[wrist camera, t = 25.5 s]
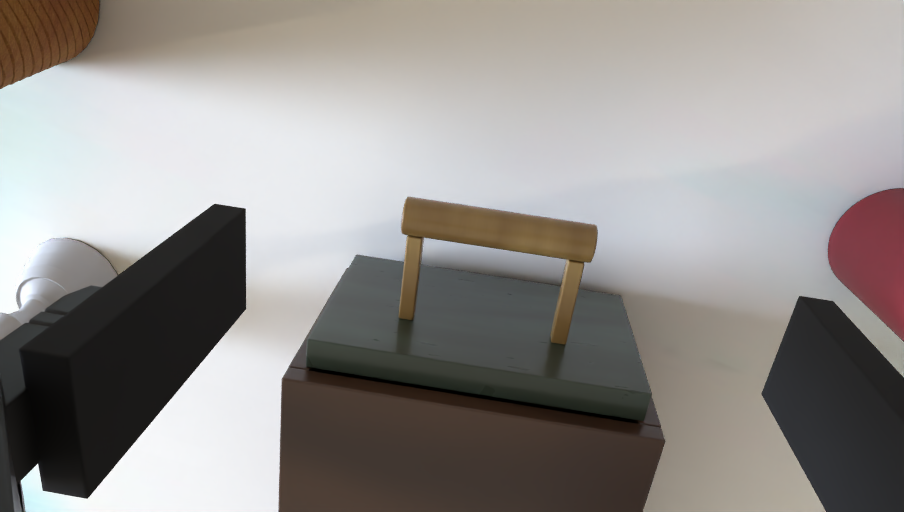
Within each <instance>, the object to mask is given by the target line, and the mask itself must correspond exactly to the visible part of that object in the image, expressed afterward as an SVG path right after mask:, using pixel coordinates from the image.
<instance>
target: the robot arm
mask: <svg viewBox="0 0 904 512" xmlns="http://www.w3.org/2000/svg"><path fill="white" fill-rule="evenodd" d="M245 310H246V209H244V208H238V207H231V206H225V205H219V204H214V205H212V206H211V207H210V208H208V209H207V210H206V211H204V212H203V213H202V214H200V215H199V216H197V217H196V218H195V219H193V220H192V221H191V222H189V223H188V224H187V225H185V226H184V227H183V228H181V229H180V230H179V231H177V232H176V233H175V234H173V235H172V236H171V237H169V238H168V239H166V240H165V241H164V242H162V243H161V244H160V245H158V246H157V247H156V248H154V249H153V250H152V251H150V252H149V253H148V254H146V255H145V256H144V257H142V258H141V259H139V260H138V261H137V262H135V263H134V264H133V265H131V266H130V267H129V268H127V269H126V270H125V271H123V272H122V273H121V274H119V275H118V276H117V277H115V278H114V279H113V280H111V281H110V282H108V283H107V284H106V285H104V286H103V287H98V286H92V285H91V286H88V287H85V288H83V289H80V290H77V291H75V292H72V293H69V294H67V295H64V296H63V297H61V298H60V299H59V300H57V301H56V302H54V303H53V304H51V305H50V306H49V307H47V308H46V309H45V312H42V311H41V312H40V313H38V314H37V315H36V316H34V317H33V318H31V319H30V320H29V323H24V324H23V325H21V326H20V327H18V328H17V329H16V330H14V331H13V332H11V333H10V334H8V335H7V336H6V337H4V338H3V339H1V340H0V512H25V505H24V497H23V491H22V486H21V480H22V479H23V478H24V477H25V476H26V475H27V474H28V473H29V472H30V471H31V470H32V469H33V468H34V467H35V466H36V465H37V464H38V465H39V471H40V476H41V482H42V488H43V491H48V492H53V493H59V494H65V495H70V496H76V497H81V498H87V499H88V497H89V496H90V495H91V494H92V493H93V491H94V490H95V489H96V488H97V487H98V485H99V484H100V483H101V482H102V481H103V479H104V478H105V477H106V476H107V475H108V474H109V472H110V471H111V470H112V469H113V468H114V466H115V465H116V464H117V463H118V462H119V460H120V459H121V458H122V457H123V456H124V454H125V453H126V452H127V451H128V450H129V448H130V447H131V446H132V445H133V444H134V442H135V441H136V440H137V439H138V438H139V436H140V435H141V434H142V433H143V432H144V430H145V429H146V428H147V427H148V426H149V424H150V423H151V422H152V421H153V420H154V418H155V417H156V416H157V415H158V414H159V412H160V411H161V410H162V409H163V408H164V406H165V405H166V404H167V403H168V402H169V401H170V399H171V398H172V397H173V396H174V395H175V393H176V392H177V391H178V390H179V389H180V387H181V386H182V385H183V384H184V383H185V381H186V380H187V379H188V378H189V377H190V375H191V374H192V373H193V372H194V371H195V369H196V368H197V367H198V366H199V365H200V363H201V362H202V361H203V360H204V359H205V357H206V356H207V355H208V354H209V353H210V351H211V350H212V349H213V348H214V347H215V345H216V344H217V343H218V342H219V341H220V339H221V338H222V337H223V336H224V335H225V333H226V332H227V331H228V330H229V329H230V328H231V326H232V325H233V324H234V323H235V322H236V320H237V319H238V318H239V317H240V316H241V314H242V313H243V312H244V311H245ZM762 396H763V398H764V400H765V401H766V403H767V405H768V407H769V409H770V410H771V412H772V414H773V416H774V418H775V419H776V421H777V423H778V425H779V427H780V429H781V430H782V432H783V434H784V436H785V438H786V439H787V441H788V443H789V445H790V447H791V449H792V450H793V452H794V454H795V456H796V458H797V459H798V461H799V463H800V465H801V467H802V468H803V470H804V472H805V474H806V476H807V478H808V479H809V481H810V483H811V485H812V487H813V488H814V490H815V492H816V494H817V496H818V497H819V499H820V501H821V503H822V505H823V507H824V508H825V510H826V512H904V378H903V377H902V375H901V374H900V373H899V372H898V371H897V370H896V369H895V368H894V367H893V366H892V365H891V364H890V362H889V361H888V360H887V359H886V358H885V357H884V356H883V355H882V354H881V353H880V352H879V351H878V349H877V348H876V347H875V346H874V345H873V344H872V343H871V342H870V341H869V340H868V339H867V338H866V336H865V335H864V334H863V333H862V332H861V331H860V330H859V329H858V328H857V327H856V326H855V325H854V323H853V322H852V321H851V320H850V319H849V318H848V317H847V316H846V315H845V314H844V313H843V312H842V310H841V309H840V308H839V307H838V306H837V305H836V304H835V303H834V302H833V301H828V300H822V299H816V298H809V297H803V296H799V298H798V301H797V303H796V306H795V308H794V311H793V314H792V316H791V319H790V321H789V324H788V327H787V329H786V332H785V334H784V337H783V339H782V342H781V345H780V347H779V350H778V352H777V355H776V358H775V360H774V363H773V365H772V368H771V370H770V373H769V376H768V378H767V381H766V383H765V386H764V389H763V391H762Z"/></svg>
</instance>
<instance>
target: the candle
mask: <svg viewBox="0 0 904 512" xmlns="http://www.w3.org/2000/svg"><path fill="white" fill-rule="evenodd" d="M828 259H829V264H830V266H831V269H832V271H833V272H834V274H835V275H836V277H837V278H838V279H839V280H840V281H841V282H842V283H843V284H844V285H845V286H846V287H847V288H848V289H849V290H850V291H851V292H852V293H853V294H855V295H856V296H857V297H858V298H859V299H860V300H861V301H862V302H863V303H864V304H865V305H866V306H867V307H868V308H869V309H870V310H871V311H872V312H873V313H874V314H875V315H876V316H878V317H879V318H880V319H881V320H882V321H883V322H884V323H885V324H886V325H887V326H888V327H889V328H890V329H891V330H892V331H893V332H894V333H895V334H896V335H897V336H898V337H899V338H901V339H902V340H903V341H904V188H899V189H890V190H885V191H881V192H878V193H875V194H872V195H870V196H868V197H866V198H864V199H862V200H860V201H859V202H857V203H856V204H855V205H853V206H852V207H851V208H850V209H848V210H847V211H846V212H845V213H844V215H843V216H842V217H841V218H840V219H839V221H838V222H837V224H836V225H835V227H834V229H833V231H832V234H831V236H830V240H829V244H828Z"/></svg>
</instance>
